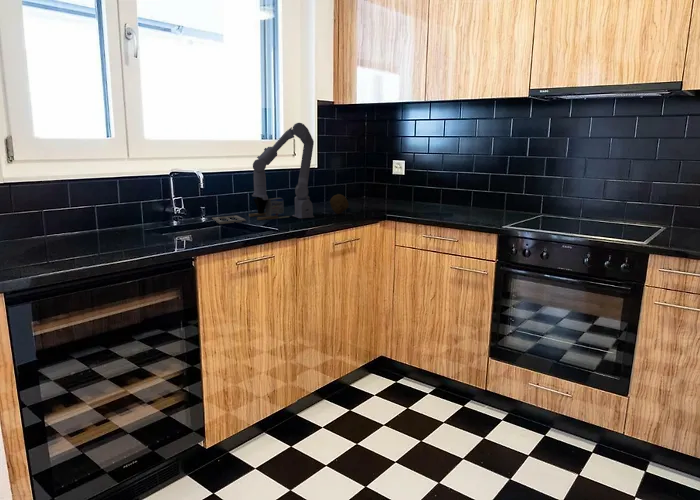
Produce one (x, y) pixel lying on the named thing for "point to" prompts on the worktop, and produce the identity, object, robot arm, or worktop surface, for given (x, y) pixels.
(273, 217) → the channel rails
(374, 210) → the worktop surface
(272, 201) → the medicine box
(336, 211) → the natural sponge
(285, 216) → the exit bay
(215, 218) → the plate
